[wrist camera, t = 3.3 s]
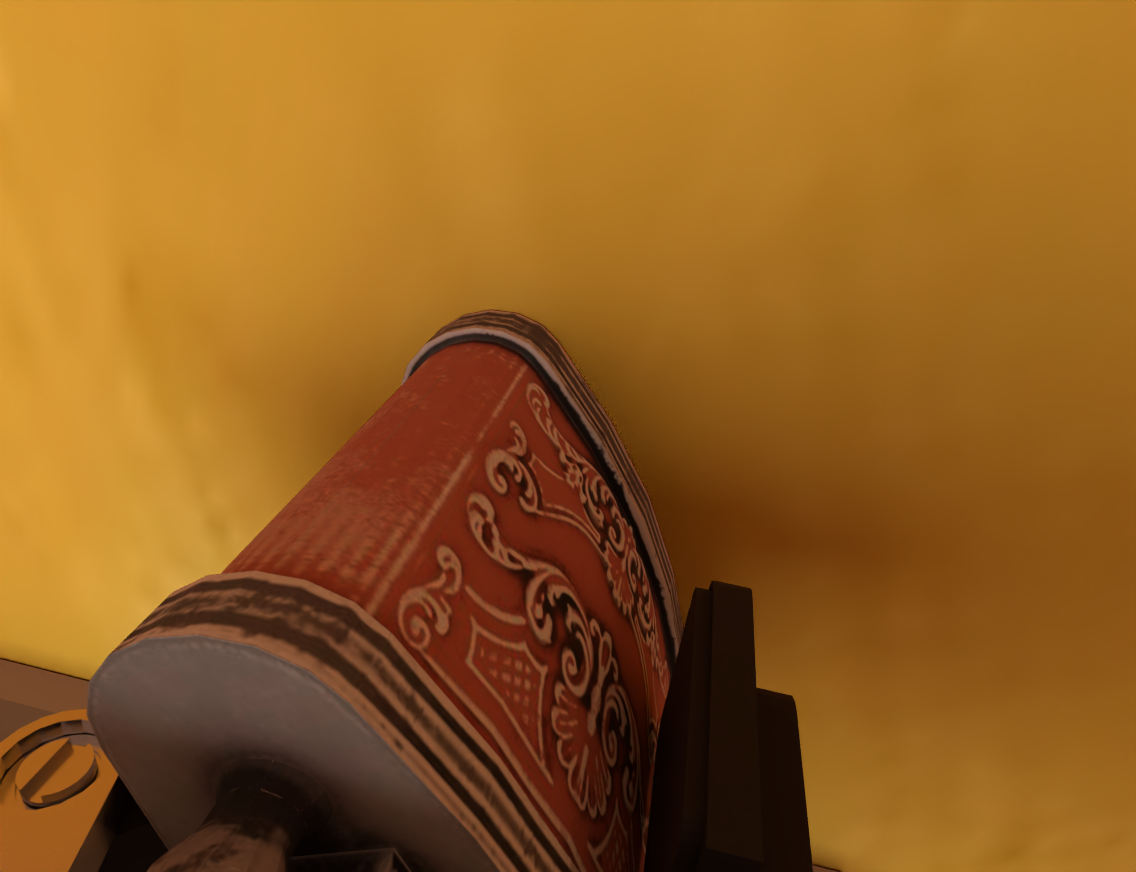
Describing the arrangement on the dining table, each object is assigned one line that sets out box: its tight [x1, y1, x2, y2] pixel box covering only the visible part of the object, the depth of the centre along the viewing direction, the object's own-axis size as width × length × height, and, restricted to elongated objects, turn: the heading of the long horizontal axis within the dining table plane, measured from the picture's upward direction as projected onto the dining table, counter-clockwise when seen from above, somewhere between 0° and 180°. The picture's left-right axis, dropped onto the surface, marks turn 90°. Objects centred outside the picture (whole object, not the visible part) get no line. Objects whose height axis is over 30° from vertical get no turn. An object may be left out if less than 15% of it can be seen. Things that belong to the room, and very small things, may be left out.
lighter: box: [87, 310, 683, 872], centre depth 9 cm, size 8×3×10 cm, turn 23°
